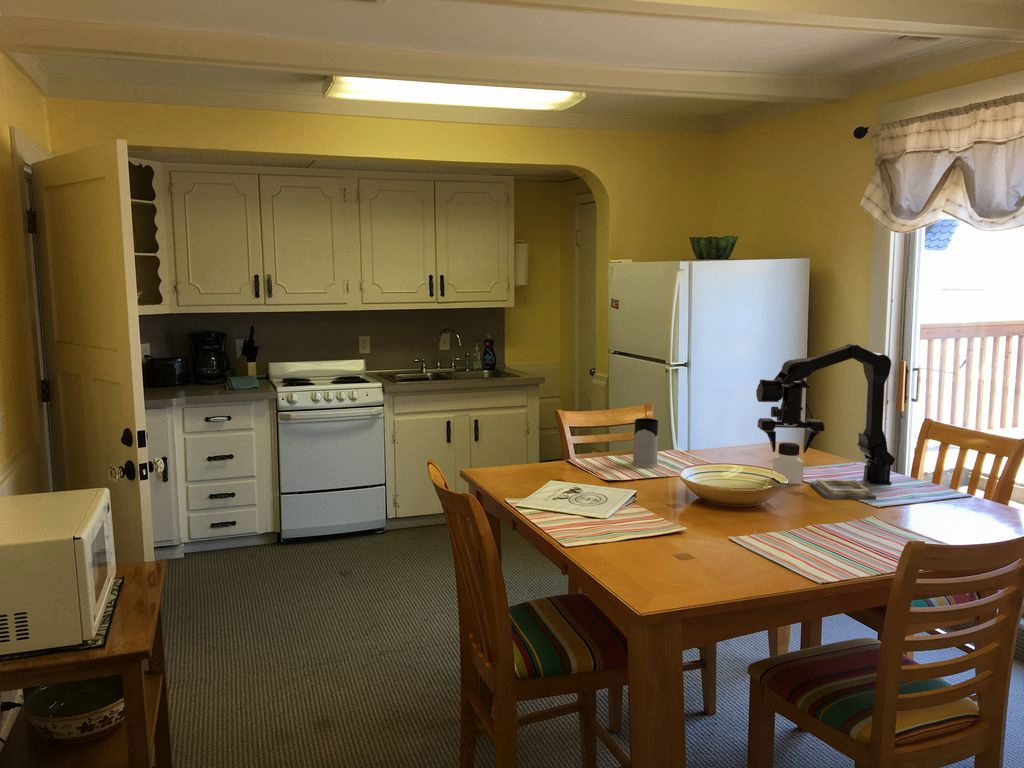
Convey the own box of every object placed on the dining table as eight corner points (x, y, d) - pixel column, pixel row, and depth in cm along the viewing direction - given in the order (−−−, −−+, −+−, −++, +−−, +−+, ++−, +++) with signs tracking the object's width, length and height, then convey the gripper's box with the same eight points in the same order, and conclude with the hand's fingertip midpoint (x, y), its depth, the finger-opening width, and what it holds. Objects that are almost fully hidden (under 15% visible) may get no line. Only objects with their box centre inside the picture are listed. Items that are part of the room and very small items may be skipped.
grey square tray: (857, 486, 248) (858, 479, 248) (875, 499, 234) (876, 492, 234) (810, 485, 249) (811, 478, 249) (825, 498, 235) (826, 490, 235)
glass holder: (629, 467, 268) (631, 421, 266) (636, 457, 282) (637, 414, 280) (656, 469, 266) (658, 423, 264) (661, 459, 279) (663, 415, 277)
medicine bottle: (802, 484, 250) (804, 445, 248) (778, 484, 250) (781, 445, 248) (794, 478, 257) (797, 440, 255) (771, 477, 257) (774, 440, 255)
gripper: (814, 398, 257) (811, 447, 259) (754, 397, 258) (751, 445, 260) (826, 404, 246) (823, 455, 248) (763, 403, 247) (760, 454, 249)
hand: (789, 452), depth 252 cm, fingers open, 9 cm apart
